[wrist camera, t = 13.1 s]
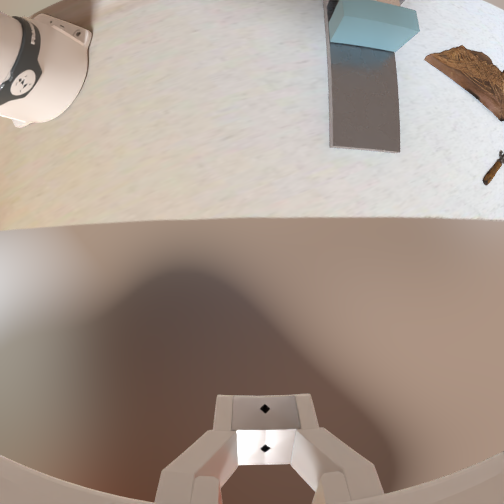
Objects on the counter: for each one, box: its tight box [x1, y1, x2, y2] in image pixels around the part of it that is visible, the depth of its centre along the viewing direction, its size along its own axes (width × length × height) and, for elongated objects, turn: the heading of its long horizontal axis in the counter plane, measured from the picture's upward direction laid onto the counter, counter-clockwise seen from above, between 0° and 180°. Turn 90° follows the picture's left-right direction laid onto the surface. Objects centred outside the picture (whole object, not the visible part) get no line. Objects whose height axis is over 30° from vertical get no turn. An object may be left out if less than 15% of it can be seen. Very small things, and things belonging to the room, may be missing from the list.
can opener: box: [483, 152, 504, 185], centre depth 37 cm, size 9×2×1 cm, turn 129°
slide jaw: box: [329, 0, 420, 52], centre depth 28 cm, size 3×9×8 cm, turn 90°
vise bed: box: [323, 0, 404, 153], centre depth 30 cm, size 24×9×10 cm, turn 0°
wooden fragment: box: [424, 46, 504, 121], centre depth 34 cm, size 26×11×1 cm, turn 79°
